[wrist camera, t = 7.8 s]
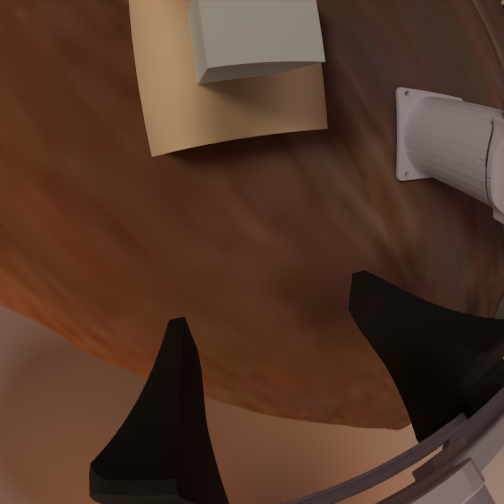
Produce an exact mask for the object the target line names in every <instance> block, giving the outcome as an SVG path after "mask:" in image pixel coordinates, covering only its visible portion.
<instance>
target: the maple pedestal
mask: <svg viewBox="0 0 504 504" xmlns="http://www.w3.org/2000/svg"><path fill="white" fill-rule="evenodd" d="M190 1H191V0H129V8H130V20H131V31H132V40H133V48H134V56H135V64H136V71H137V78H138V84H139V91H140V97H141V103H142V109H143V114H144V120H145V125H146V130H147V135H148V140H149V145H150V150H151V154H152V157H153V156H157V155H161V154H165V153H169V152H174V151H178V150H183V149H187V148H192V147H197V146H202V145H207V144H212V143H217V142H223V141H229V140H235V139H241V138H247V137H254V136H261V135H269V134H277V133H286V132H295V131H306V130H318V129H328V128H327V114H326V102H325V91H324V81H323V71H322V63H318V64H314V65H309V66H305V67H302V68H298V69H294V70H290V71H287V72H283V73H280V74H277V75H273V76H261V77H249V78H239V79H231V80H223V81H216V82H209V83H203V84H198V83H197V76H196V69H195V62H194V55H193V48H192V40H191V33H190V25H189V10H190Z"/></svg>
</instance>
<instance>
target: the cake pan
mask: <svg viewBox="0 0 504 504" xmlns="http://www.w3.org/2000/svg"><path fill="white" fill-rule="evenodd" d="M494 319H504V297H503V299H502V301H501V303H500V305H499V307H498V309H497V312H496V314H495V317H494Z"/></svg>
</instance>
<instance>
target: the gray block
mask: <svg viewBox="0 0 504 504" xmlns="http://www.w3.org/2000/svg"><path fill="white" fill-rule="evenodd" d="M189 25H190V33H191V40H192V48H193V55H194V62H195V69H196V76H197V83H198V84H203V83H209V82H216V81H223V80H231V79H239V78H249V77H261V76H273V75H277V74H280V73H283V72H287V71H290V70H294V69H298V68H302V67H305V66H309V65H314V64H318V63H322V62H325V56H324V48H323V41H322V34H321V28H320V22H319V16H318V10H317V4H316V0H191V1H190V10H189Z"/></svg>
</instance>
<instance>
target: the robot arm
mask: <svg viewBox="0 0 504 504" xmlns="http://www.w3.org/2000/svg"><path fill="white" fill-rule="evenodd" d="M405 92H406V95H405ZM396 107H397V166H396V177H397V179H398V180H400V181H406V180H414V179H422V178H430V177H433V178H435V179H437V180H439V181H441V182H444V183H446V184H448V185H450V186H452V187H454V188H456V189H458V190H460V191H462V192H464V193H466V194H468V195H470V196H472V197H474V198H476V199H478V200H480V201H481V202H483V203H485V204H487V205H489V206H490V207H492V208H493V218H494V219H496V220H497V221H499V222H501V223H502V224H504V111H503V110H499V109H495V108H491V107H487V106H483V105H478V104H474V103H469V102H464V101H463V100H462V99H461V98H457V97H453V96H448V95H443V94H438V93H433V92H428V91H422V90H416V89H409V88H401V87H400V88H397V89H396ZM405 173H406V175H405ZM503 229H504V225H503ZM348 309H349V311H350V313H351V315H352V317H353V319H354V320H355V322H356V324H357V326H358V327H359V329H360V330H361V332H362V333H363V335H364V336H365V337H366V339H367V340H368V342H369V343H370V344H371V346H372V347H373V349H374V350H375V351H376V353H377V354H378V356H379V357H380V358H381V360H382V361H383V363H384V364H385V366H386V367H387V369H388V371H389V373H390V375H391V377H392V379H393V380H394V382H395V384H396V386H397V389H398V391H399V393H400V395H401V397H402V399H403V402H404V404H405V407H406V409H407V412H408V414H409V417H410V420H411V423H412V426H413V429H414V432H415V436H416V439H417V441H418V443H419V444H417V445H416V446H414V447H412V448H410V449H409V450H407V451H405V452H404V453H402V454H400V455H398V456H397V457H395V458H393V459H391V460H389V461H388V462H386V463H384V464H382V465H380V466H378V467H376V468H374V469H372V470H370V471H368V472H365V473H363V474H361V475H359V476H357V477H355V478H352V479H350V480H348V481H345V482H343V483H340V484H338V485H335V486H333V487H330V488H327V489H325V490H322V491H319V492H317V493H313V494H311V495H307V496H304V497H301V498H298V499H294V500H291V501H287V502H284V503H280V504H334V503H337V502H339V501H342V500H344V499H347V498H349V497H352V496H354V495H356V494H358V493H361V492H363V491H365V490H367V489H369V488H371V487H373V486H375V485H377V484H379V483H381V482H383V481H385V480H387V479H389V478H391V477H393V476H394V475H396V474H398V473H400V472H401V471H403V470H405V469H407V468H408V467H410V466H412V465H413V464H415V463H417V462H418V461H420V460H421V459H423V458H424V457H426V456H427V455H429V454H430V453H432V452H433V451H435V450H436V449H438V448H439V447H440V446H442V445H443V444H444V445H443V448H442V451H440V452H439V453H438V454H437V455H435V456H434V457H432V458H431V459H430V460H428V461H427V462H426V463H424V464H423V465H422V466H420V467H419V468H417V469H416V470H414V471H413V472H412V474H413V476H414V478H415V482H414V483H412V484H410V485H409V486H407V487H405V488H404V489H402V490H400V491H398V492H396V493H395V494H393V495H391V496H389V497H387V498H385V499H383V500H381V501H379V502H377V503H375V504H495V502H494V500H493V499H492V497H491V495H490V493H489V491H488V490H487V488H486V486H485V484H484V481H485V479H484V477H483V475H482V474H481V473H482V472H483V471H484V469H486V468H487V466H488V465H489V464H490V463H491V462H492V461H493V460H494V458H495V457H496V456H497V455H498V454H499V453H500V452H501V450H502V449H503V448H504V359H503V357H504V319H493V318H485V317H479V316H473V315H469V314H464V313H461V312H457V311H453V310H450V309H447V308H444V307H441V306H439V305H436V304H433V303H431V302H428V301H426V300H424V299H421V298H419V297H417V296H415V295H413V294H410V293H408V292H406V291H404V290H402V289H400V288H398V287H396V286H395V285H393V284H391V283H389V282H387V281H385V280H383V279H381V278H379V277H377V276H375V275H373V274H371V273H369V272H367V271H365V270H363V271H360V272H357V273H353V274H352V283H351V292H350V300H349V308H348ZM89 485H90V486H89V489H90V497H91V498H92V499H93V500H94V501H96V502H99V503H101V504H229V502H228V499H227V496H226V493H225V490H224V487H223V484H222V481H221V477H220V474H219V471H218V467H217V464H216V460H215V456H214V453H213V449H212V445H211V441H210V437H209V432H208V427H207V422H206V415H205V404H204V393H203V381H202V371H201V366H200V360H199V355H198V350H197V347H196V345H195V342H194V340H193V337H192V335H191V332H190V330H189V327H188V324H187V322H186V319H185V317H181V318H176V319H172V320H170V321H169V322H168V325H167V329H166V332H165V335H164V338H163V341H162V344H161V347H160V350H159V353H158V355H157V358H156V361H155V363H154V366H153V368H152V370H151V373H150V375H149V377H148V380H147V382H146V384H145V386H144V388H143V390H142V392H141V394H140V396H139V398H138V400H137V402H136V403H135V405H134V407H133V409H132V410H131V412H130V414H129V415H128V417H127V418H126V420H125V421H124V423H123V424H122V426H121V427H120V429H119V430H118V431H117V433H116V434H115V435H114V437H113V438H112V439H111V441H110V442H109V443H108V444H107V446H106V447H105V448H104V449H103V450H102V451H101V453H100V454H99V455H98V456H97V457H96V458H95V459H94V460H93V461H92V462H91V464H90V472H89Z"/></svg>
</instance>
